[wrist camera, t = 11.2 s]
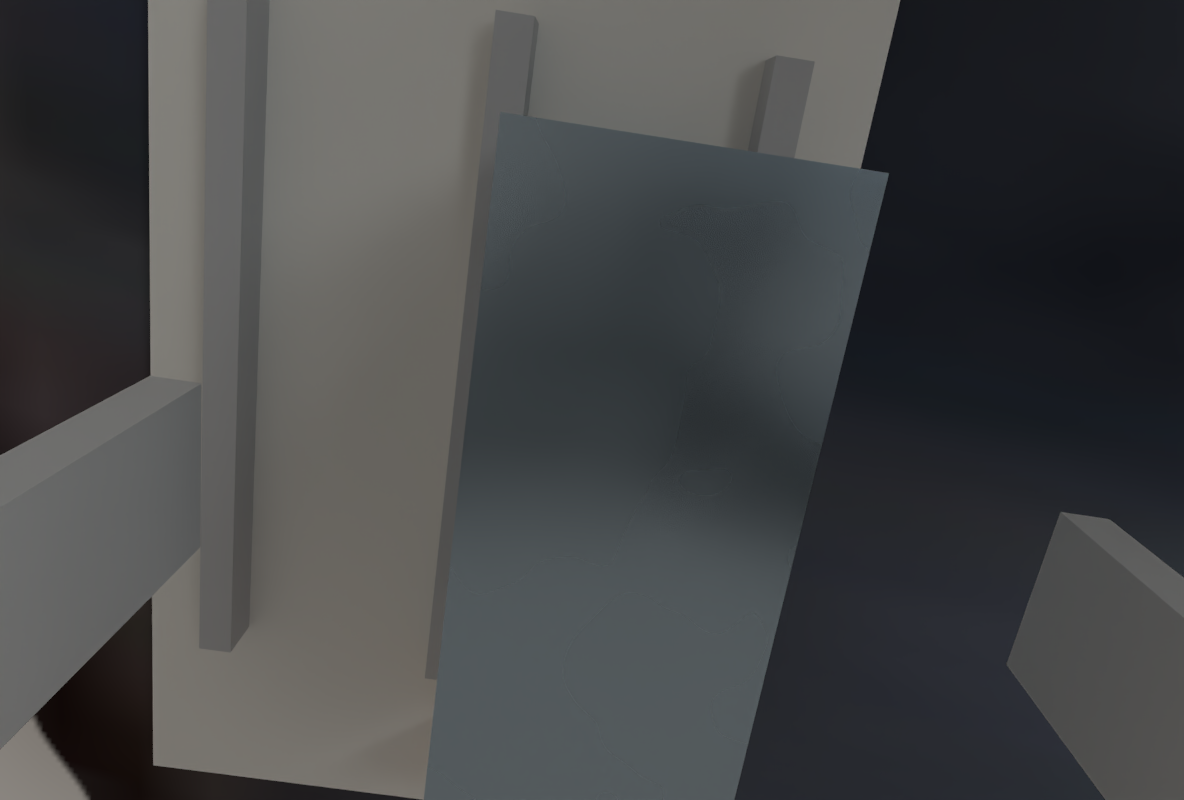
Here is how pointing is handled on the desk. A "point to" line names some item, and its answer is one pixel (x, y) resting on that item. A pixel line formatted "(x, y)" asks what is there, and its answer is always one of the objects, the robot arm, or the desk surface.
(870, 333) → the desk surface
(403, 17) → the rack
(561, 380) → the panel
